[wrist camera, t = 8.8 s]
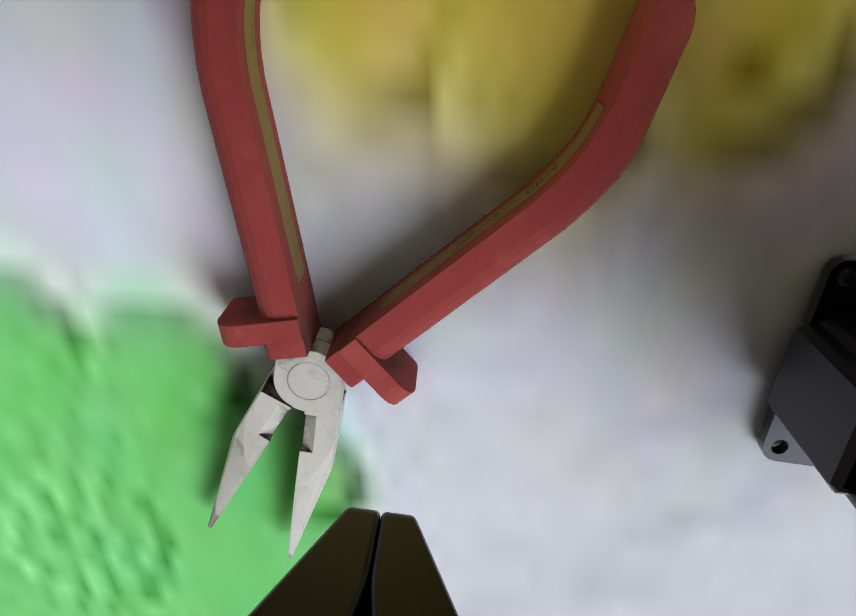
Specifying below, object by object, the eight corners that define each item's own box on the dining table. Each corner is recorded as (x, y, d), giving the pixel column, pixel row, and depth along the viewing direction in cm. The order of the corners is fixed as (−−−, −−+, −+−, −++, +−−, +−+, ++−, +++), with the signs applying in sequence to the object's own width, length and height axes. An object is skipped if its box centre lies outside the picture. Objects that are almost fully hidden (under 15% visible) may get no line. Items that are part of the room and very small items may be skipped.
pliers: (100, 462, 24) (60, 513, 22) (254, -205, 16) (218, -240, 14) (414, 565, 25) (408, 624, 23) (699, -10, 17) (737, -11, 15)
